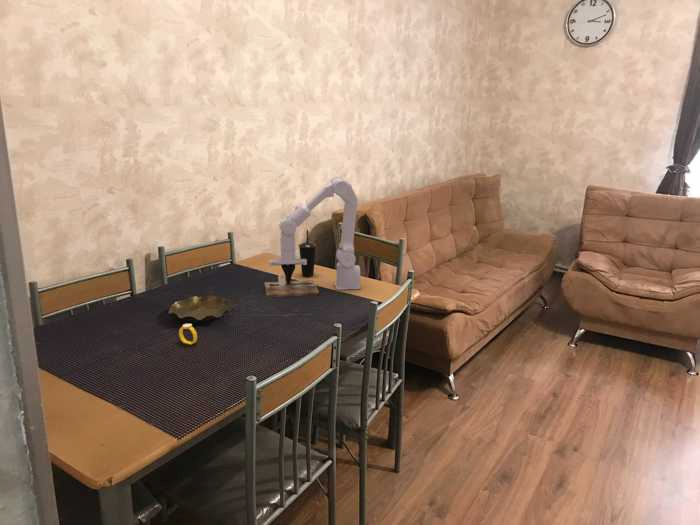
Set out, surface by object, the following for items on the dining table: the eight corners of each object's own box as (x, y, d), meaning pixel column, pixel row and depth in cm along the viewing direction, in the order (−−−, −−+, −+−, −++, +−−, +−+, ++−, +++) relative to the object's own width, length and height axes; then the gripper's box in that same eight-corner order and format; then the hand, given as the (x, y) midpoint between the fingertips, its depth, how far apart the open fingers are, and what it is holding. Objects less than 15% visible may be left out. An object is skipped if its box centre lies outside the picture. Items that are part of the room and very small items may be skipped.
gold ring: (178, 344, 167) (175, 325, 166) (184, 340, 170) (182, 322, 168) (193, 346, 165) (191, 327, 163) (199, 343, 167) (197, 324, 166)
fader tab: (285, 285, 220) (285, 274, 219) (286, 288, 216) (286, 277, 215) (277, 286, 219) (277, 275, 218) (278, 289, 215) (278, 278, 214)
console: (313, 282, 228) (313, 277, 228) (319, 294, 213) (319, 289, 213) (264, 284, 224) (264, 279, 224) (266, 297, 209) (266, 291, 209)
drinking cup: (296, 274, 239) (295, 229, 234) (312, 272, 242) (312, 228, 237) (302, 279, 233) (302, 232, 227) (319, 277, 236) (319, 231, 230)
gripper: (305, 246, 219) (305, 278, 223) (268, 247, 216) (269, 280, 220) (307, 250, 213) (307, 284, 216) (269, 251, 210) (270, 285, 213)
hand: (288, 282), depth 218 cm, fingers closed
